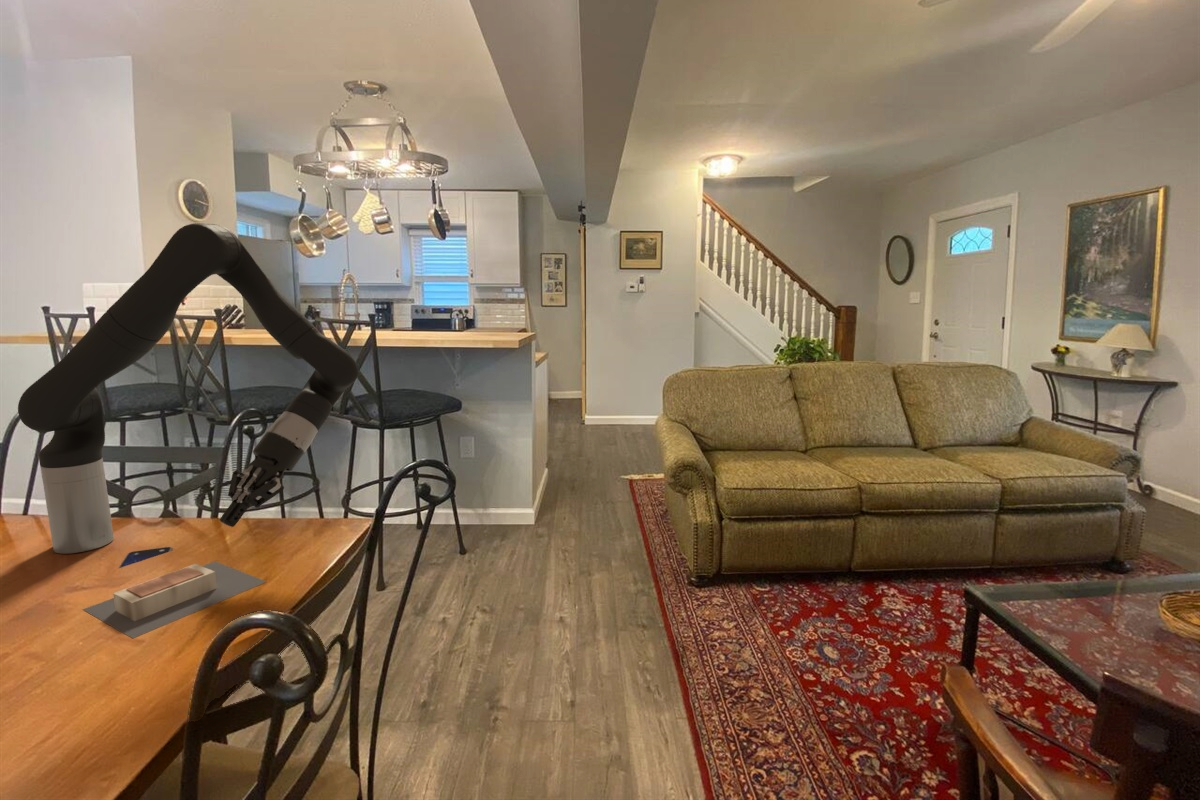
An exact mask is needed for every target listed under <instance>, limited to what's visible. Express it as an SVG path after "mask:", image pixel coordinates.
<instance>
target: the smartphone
mask: <svg viewBox="0 0 1200 800" xmlns="http://www.w3.org/2000/svg"><path fill="white" fill-rule="evenodd" d="M173 551H174V548H173V547H171V546H165V547H157V548H151V549H150V548H149V549H144V550H143V549H142V550H135V551H131V552H129V553H127V555H125V558H124V559H123V561H121V563H120V565H119V567H118V569H121V568H124V567H127V566H130V565H133V564H135V563H138V562H142V561H145V560H148V559H151V558H154V557H157V556H160V555H164V554H167V553H170V552H173Z"/></svg>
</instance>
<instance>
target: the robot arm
mask: <svg viewBox="0 0 1200 800" xmlns="http://www.w3.org/2000/svg"><path fill="white" fill-rule="evenodd" d="M214 275H217V276H218V277H219V278H221V279H222V280H224V281H225V282H227V283H228V284H229V285H230V286H231V287H233V288H234V289H235V290H236V291H237V292H238V293H239V294H240V295H241V296H242V297H243V298H244V300H245V301H246V302H247V305H249V306H250V308H251V310H252V312H253V313H254V314H255V316H256V318H257V319H258V321H259V323H260V324H261V326H262V327H263V328H264V329H265V331H267V333H268V334H269V335H270V336H271V337H272V338H273V339H274V340H275V341H276V342H277V343H278V344H279V345H280V346H281V347H283V348H284V349H285V350H286V351H287V352H288V354H289V355H291V356H292V357H294V358H295V359H297V360H304V361H305V362H306V363H307V364H308V365H310V366H311V367H312V368H313V369H315V370H314V371H313V372H312V374H311V375H310V377H309V378H308V380H307V381H306V383H305V384H304V386H303V387H302V389H301V391H299V392H298V394H296V396H295V397H294V398H293V399H292V400H291V402H289V404H288V405H287V406H286V408H285V410H284V411H283V412H282V414H280V416H278V417H277V419H275V421H273V423H272V424H271V426H270V427H269V428H268V430H267V431H266V432H265V434H264V435H263V436H262V438H261V439H260V440H259V442H258V443H257V444H256V446H255V447H254V448H253V450H252V454H253V455H254V459H253V460H252V461H251V462H250V463H249V464H248V465H247V466H246V469H244V470H242V471H240V470H238V469H236V470H233V472H232V475H231V480H230V485H229V489H228V494H227V495H228V497H229V498H231V500H230V501H231V503H230V504H229V506H227V508H226V510H225V511H224V513H222V516H220V518H219V521H220V523H221V524H224V525H226V526H229V527H231V528H233V527H235V526H236V524H238V523H239V521H240V519H241V518H242V517H243V516H244V514H245V513H246V511H247V510H250V509H252V507H254V508H256V509H257V508H259V507H261V506H262V505H264V504H265V503H267V502H268V501H269V500H271V499H272V498H274V497H275V496H277V495H278V494H280V493H281V492H282V491H284V489H285V486H284V485H282V484H281V479H282V478H283V476H284V473H289V472H292V471H293V470H294V469H295V467H296V465H297V464H298V463H299V461H300V460H301V458H302V457H303V455H304V454H305V452H306V451H307V450H308V449H309V447H310V446H311V444H312V442H313V441H314V439H315V437H316V435H317V433H318V431H319V430H320V429H321V428H322V426H323V425H324V424H325V422H326V421H327V419H328V417H329V416H330V414H331V411H332V408H333V407H334V405H336V403H337V401H338V400H339V399H340V398H341V396H342V395H343V394H344V392H345V391H346V390H347V389H348V388H349V387H350V386H352V384H354V382H355V381H356V380H357V378H358V376H359V368H358V367H359V366H358V364H357V362H356V360H355V358H353V356H352V355H351V354H350V353H349V352H348V351H346V349H344V348H343V347H341V346H340V345H338V344H337V343H336V342H335V341H333V340H331V339H330V338H329V337H327V336H325V335H323V333H321V332H320V331H319V330H318V329H317V327H315V325H314V324H313V323H312V322H311V321H310V320H309V319H308V318H307V317H306V316H305V315H304V314H303V313H302V312H301V311H299V309H297V307H296V306H294V304H293V303H292V302H290V300H289V299H288V298H287V297H286V296H285V295H284V294H283V293H282V292H281V291H280V290H279V288H278V287H277V286H276V285H275V284H274V283H273V281H272V280H271V278H269V277H268V275H267V274H266V273H265V272H264V270H262V268H261V267H260V266H259V265H258V263H257V262H256V260H255V259H254V258H253V255H251V253H250V252H249V250H248V249H247V248H246V247H245V245H244V244H243V243H242V241H241V240H240V239H239V238H238V236H237V235H236V234H235V233H234V232H233V231H232V230H230V229H229V228H227V227H225V226H223V225H220V224H215V223H204V222H201V223H200V222H195V223H189V224H186V225H184V226H182V227H180V228H179V229H178V230H176V231H175V232H174V233H173V235H172V236H171V237H170V239H169V240H168V242H167V243H166V244H165V245H164V247H163V248H162V250H161V251H160V253H159V254H158V256H157V257H156V258H155V260H154V261H153V263H151V265H150V267H149V268H148V269H147V270H146V271H145V272H144V273H143V274H142V275H141V277H139V278H138V279H137V280H136V281H135V282H134V283H133V284H132V285H131V286H130V287H129V288H128V289H127V290H126V291H125V292H124V293H123V294H122V295H121V296H120V297H119V298H118V300H116V301H115V302H114V303H112V305H111V306H110V307H109V308H108V309H107V310H106V311H105V312H104V313H103V314H102V316H100V318H99V319H98V320H96V322H95V323H94V324H93V326H92V327H91V328H90V329H89V330H88V331H87V332H86V333H85V334H84V335H83V337H81V338H80V339H79V341H78V342H76V344H75V345H73V347H72V348H71V350H69V352H68V353H67V354H65V356H64V357H63V358H62V359H60V360H59V362H58V363H56V364H55V365H54V366H53V367H52V368H50V369H49V370H48V371H47V372H46V373H44V374H43V375H42V376H41V377H39V378H38V379H37V380H36V381H34V382H33V383H32V384H31V385H30V386H29V387H27V389H25V391H24V392H22V395H21V396H20V397H19V401H18V404H17V413H18V417H19V419H20V421H21V423H23V425H24V426H25V427H27V428H30V429H31V430H34V431H37V432H53V436H52V437H51V439H50V441H49V442H48V443H47V444H46V445H45V446H44V447H43V448H42V449H40V451H39V452H38V462H39V465H40V466H39V467H40V474H41V479H42V486H43V492H44V498H45V504H46V512H47V516H48V523H49V530H50V536H51V543H52V549H53V552H55V553H56V554H66V555H67V554H76V553H77V554H78V553H82V552H87V551H91V550H97V549H98V548H101V547H104V546H106V545H108V544H110V543H111V542H113V541H114V539H115V537H114V530H113V522H112V515H111V508H110V500H109V494H108V487H107V480H106V473H105V467H104V466H105V465H104V458H103V448H104V445H105V442H106V432H105V431H106V430H105V417H104V416H105V415H104V408H103V401H102V397H101V395H100V393H99V391H98V390H97V387H99V386H100V385H101V384H102V383H104V382H106V381H107V380H108V379H110V378H112V377H113V376H115V375H117V374H118V373H120V372H122V371H124V370H125V369H127V368H129V367H130V366H132V365H133V364H135V363H137V362H138V361H140V360H141V359H142V358H143V357H144V356H146V355H147V354H148V353H149V352H150V351H151V350H152V349H153V348H154V347H155V346H156V345H157V344H158V342H160V340H161V339H162V338H163V337H164V336H165V335H166V334H167V333H168V331H169V330H170V328H171V326H172V325H173V323H174V320H175V317H176V314H177V312H178V310H179V307H180V306H181V304H182V302H183V301H184V300H185V298H187V297H188V295H189V294H190V293H191V292H192V291H194V290H195V288H197V287H198V286H199V285H200V284H202V282H203V281H205V280H206V279H208V278H209V277H211V276H214Z"/></svg>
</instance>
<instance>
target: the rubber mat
mask: <svg viewBox="0 0 1200 800" xmlns="http://www.w3.org/2000/svg"><path fill="white" fill-rule="evenodd" d="M202 566H203V567H205V568H207V569H210V570H212V571H215V575H216V584H217V588H216V589H214V590H211V591H209V592H206V593H204V594H201V595H199V596H196V597H194V598H191V599H189V600H186V601H184V602H181V603H179V604H176V605H174V606H171V607H169V608H166V609H164V610H161V611H159V612H156V613H154V614H152V615H149V616H147V617H144V618H142V619H139V620H137V621H133V620H131V619H130V618H128V617H126V616H124V615H122V614H120V613H119V612H117V611H116V610H115V603H114V597H112V598H111V599H108V600H105V601H102V602H99V603H97V604H93V605H90V606H88V607H86V608H83V609H82V611H84V612H85V613H87V614H90V615H91V616H93V617H94V618H96V619H98V620H100V621H101V622H103V623H105V624H107V625H108V626H110V627H111V628H112V629H115V630H117V631H119V632H121V633H123V634H124V635H126V636H128V637H129V638H131V639H135V638H137V637H140V636H142V635H145V634H147V633H150V632H152V631H154V630H157V629H158V628H162V627H164V626H166V625H168V624H171V623H173V622H175V621H178V620H180V619H182V618H185V617H188V616H190V615H192V614H195V613H197V612H199V611H201V610H204V609H206V608H208V607H211V606H213V605H216V604H218V603H220V602H222V601H226V600H228V599H231V598H232V597H235V596H237V595H239V594H242V593H244V592H247V591H249V590H251V589H254V588H256V587H258V586H261V585H264V584H266V583H267V581H266V580H264V579H261V578H258V577H256V576H253V575H251V574H248V573H246V572H244V571H241V570H238V569H236V568H233V567H231V566H228V565H225V564H223V563H221V562H219V561H212V562H210V563H207V564H204V565H202Z"/></svg>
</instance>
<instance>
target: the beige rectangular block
mask: <svg viewBox="0 0 1200 800" xmlns="http://www.w3.org/2000/svg"><path fill="white" fill-rule="evenodd" d="M203 566H204V565H200V564H197V563H194V564H190V565H187V566H185V567H183V568H180V569H177V570H175V571H171V572H169V573H165V574H163V575H160V576H157V577H154V578H151V579H149V580H146V581H143V582H141V583H137V584H134V585H132V586H129V587H127V588H124V589H120V590H118V591H116V592H113V593H112V595H113V598H114V603H115V610H116V611H117V612H119V613H120V614H122V615H124V616H126V617H128V618H130V619H131V620H133V621H137V620H139V619H142V618H144V617H147V616H149V615H152V614H154V613H156V612H159V611H161V610H164V609H166V608H169V607H171V606H174V605H176V604H179V603H181V602H184V601H186V600H189V599H191V598H194V597H196V596H199V595H201V594H204V593H206V592H209V591H211V590H214V589H216V588H217V584H216V575H215V571H212V570H210V569H207V568H205V567H203Z"/></svg>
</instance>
